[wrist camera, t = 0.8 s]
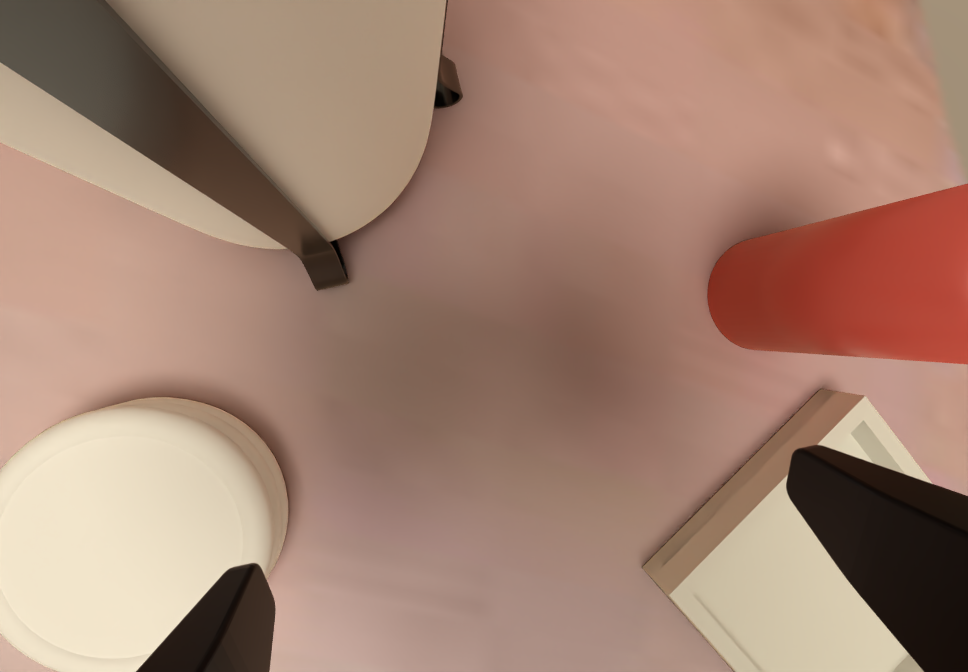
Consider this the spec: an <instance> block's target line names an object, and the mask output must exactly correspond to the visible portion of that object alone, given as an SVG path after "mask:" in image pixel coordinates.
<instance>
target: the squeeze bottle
mask: <svg viewBox="0 0 968 672" xmlns="http://www.w3.org/2000/svg"><path fill="white" fill-rule="evenodd" d="M708 305H709V309H710V313H711V316H712V318H713V320H714V322H715V324H716V326H717V327H718V329H719V330H720V332H721V333H722V334H723V335H724V336H725V337H726V338H727V339H728V340H730V341H731V342H733V343H734V344H736V345H738V346H740V347H743V348H746V349H752V350H763V351H778V352H793V353H808V354H823V355H838V356H853V357H868V358H883V359H898V360H913V361H928V362H942V363H957V364H968V184H965V185H961V186H957V187H953V188H949V189H945V190H941V191H937V192H933V193H929V194H926V195H922V196H918V197H914V198H910V199H906V200H902V201H898V202H894V203H890V204H887V205H883V206H879V207H875V208H871V209H867V210H863V211H859V212H855V213H851V214H847V215H844V216H840V217H836V218H832V219H828V220H824V221H820V222H816V223H812V224H808V225H805V226H801V227H797V228H793V229H789V230H785V231H781V232H777V233H773V234H769V235H765V236H762V237H758V238H754V239H750V240H746V241H743V242H740V243H738V244H736V245H734V246H733V247H731V248H730V249H728V250H727V251H726V252H725V253H724V254H723V255H722V256H721V257H720V259H719V260H718V261H717V263H716V265H715V267H714V268H713V271H712V273H711V276H710V280H709V285H708Z"/></svg>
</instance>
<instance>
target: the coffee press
mask: <svg viewBox="0 0 968 672" xmlns="http://www.w3.org/2000/svg"><path fill="white" fill-rule="evenodd" d="M447 3H448V0H0V142H1V143H3V144H5V145H7V146H10V147H12V148H14V149H16V150H18V151H21V152H23V153H25V154H27V155H29V156H32V157H34V158H36V159H38V160H41V161H43V162H45V163H47V164H49V165H52V166H54V167H56V168H58V169H61V170H63V171H65V172H67V173H69V174H72V175H74V176H76V177H78V178H81V179H83V180H85V181H87V182H89V183H92V184H94V185H96V186H98V187H101V188H103V189H105V190H107V191H109V192H112V193H114V194H116V195H118V196H121V197H123V198H125V199H127V200H129V201H132V202H134V203H136V204H138V205H141V206H143V207H145V208H147V209H150V210H152V211H154V212H156V213H159V214H161V215H163V216H165V217H168V218H170V219H172V220H174V221H177V222H179V223H181V224H183V225H186V226H188V227H190V228H193V229H195V230H197V231H200V232H202V233H205V234H207V235H210V236H213V237H215V238H218V239H221V240H224V241H228V242H231V243H235V244H239V245H244V246H249V247H255V248H264V249H289V250H290V251H292V252H293V253H294V254H296V255H297V256H298V257H299V258H300V259H301V261H302V263H303V264H304V266H305V268H306V270H307V272H308V274H309V276H310V278H311V281H312V283H313V285H314V287H315V289H316V290H317V291H318V290H323V289H327V288H331V287H336V286H340V285H344V284H348V283H349V280H348V275H347V270H346V267H345V263H344V260H343V257H342V254H341V251H340V248H339V245H338V242H337V239H339V238H341V237H344V236H346V235H348V234H350V233H352V232H354V231H356V230H358V229H360V228H361V227H363V226H365V225H366V224H368V223H369V222H371V221H372V220H374V219H375V218H376V217H377V216H379V215H380V214H381V213H382V212H383V211H385V210H386V209H387V208H388V207H389V206H390V205H391V204H392V203H393V202H394V201H395V200H396V198H397V197H398V196H399V195H400V194H401V192H402V191H403V190H404V188H405V187H406V186H407V184H408V183H409V181H410V180H411V178H412V176H413V174H414V173H415V171H416V169H417V167H418V165H419V163H420V160H421V158H422V155H423V153H424V150H425V147H426V144H427V140H428V136H429V132H430V127H431V121H432V115H433V108H445V107H449V106H452V105H454V104H456V103H458V102H459V101H460V100H461V99H462V97H463V95H462V91H461V87H460V83H459V79H458V75H457V70H456V66H455V63H454V62H452V61H451V60H449V59H448V58H446V57H445V56H443V55H442V47H443V38H444V29H445V20H446V12H447Z"/></svg>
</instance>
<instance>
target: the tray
mask: <svg viewBox="0 0 968 672" xmlns="http://www.w3.org/2000/svg"><path fill="white" fill-rule="evenodd" d="M812 445H822V446H825V447H828V448H831V449H834V450H837V451H840V452H843V453H845V454H848V455H851V456H854V457H857V458H860V459H863V460H866V461H868V462H871V463H874V464H877V465H880V466H883V467H886V468H888V469H891V470H894V471H897V472H900V473H903V474H906V475H908V476H911V477H914V478H917V479H920V480H923V481H926V482H928V483H931V481H930V480H929V479H928V477H927V476H926V475H925V473H924V472H923V471H922V470H921V468H920V467H919V466H918V464H917V463H916V462H915V460H914V459H913V458H912V456H911V455H910V454H909V452H908V451H907V450H906V449H905V447H904V446H903V445H902V443H901V442H900V441H899V439H898V438H897V437H896V435H895V434H894V433H893V431H892V430H891V429H890V428H889V426H888V425H887V424H886V422H885V421H884V420H883V418H882V417H881V416H880V414H879V413H878V412H877V411H876V409H875V408H874V407H873V405H872V404H871V403H870V401H869V400H868V399H867V397H866V396H863V395H857V394H850V393H844V392H837V391H830V390H824V389H820V390H819V391H818V392H817V393H816V394H815V395H814V396H813V397H812V398H811V399H810V400H809V401H808V402H807V403H806V404H805V405H804V406H803V407H802V408H801V409H800V410H799V411H798V412H797V413H796V414H795V415H794V416H793V417H792V418H791V419H790V420H789V421H788V422H787V423H786V424H785V425H784V426H783V427H782V428H781V429H780V430H779V431H778V432H777V433H776V434H775V435H774V436H773V437H772V438H771V439H770V440H769V441H768V442H767V443H766V444H765V445H764V446H763V447H762V448H761V449H760V450H759V451H758V452H757V453H756V454H755V455H754V456H753V457H752V458H751V459H750V460H749V461H748V462H747V463H746V464H745V465H744V466H743V467H742V468H741V469H740V470H739V471H738V472H737V473H736V474H735V475H734V476H733V477H732V478H731V479H730V480H729V481H728V482H727V483H726V484H725V485H724V486H723V487H722V488H721V489H720V490H719V491H718V492H717V493H716V494H715V495H714V496H713V497H712V498H711V499H710V500H709V501H708V502H707V503H706V504H705V505H704V506H703V507H702V508H701V509H700V510H699V511H698V512H697V513H696V514H695V515H694V516H693V517H692V518H691V519H690V520H689V521H688V522H687V523H686V524H685V525H684V526H683V527H682V528H681V529H680V530H679V531H678V532H677V533H676V534H675V535H674V536H673V537H672V538H671V539H670V540H669V541H668V542H667V543H666V544H665V545H664V546H663V547H662V548H661V549H660V550H659V551H658V552H657V553H656V554H655V555H654V556H653V557H652V558H651V559H650V560H649V561H648V562H647V563H646V564H645V565H644V566H643V567H642V568H643V569H644V570H645V572H646V573H647V574H648V575H649V576H650V577H651V578H652V579H653V581H654V582H655V583H656V584H657V585H658V586H659V587H660V589H661V590H662V591H663V592H664V593H665V594H666V595H667V596H668V598H669V599H670V600H671V601H672V602H673V603H674V604H675V606H676V607H677V608H678V609H679V610H680V611H681V612H682V613H683V615H684V616H685V617H686V618H687V619H688V620H689V621H690V623H691V624H692V625H693V626H694V627H695V628H696V629H697V630H698V632H699V633H700V634H701V635H702V636H703V637H704V638H705V640H706V641H707V642H708V643H709V644H710V645H711V646H712V647H713V649H714V650H715V651H716V652H717V653H718V654H719V655H720V656H721V658H722V659H723V660H724V661H725V662H726V663H727V664H728V666H729V667H730V668H731V669H732V670H733V671H734V672H924V671H923V670H922V669H921V668H920V667H919V665H918V664H917V663H916V662H915V661H914V659H913V658H912V657H911V656H910V655H909V654H908V652H907V651H906V650H905V649H904V648H903V646H902V645H901V644H900V643H899V642H898V640H897V639H896V638H895V637H894V636H893V634H892V633H891V632H890V631H889V630H888V629H887V627H886V626H885V625H884V624H883V623H882V621H881V620H880V619H879V618H878V617H877V615H876V614H875V613H874V612H873V611H872V609H871V608H870V607H869V606H868V605H867V604H866V602H865V601H864V600H863V599H862V598H861V596H860V595H859V594H858V593H857V591H856V590H855V589H854V588H853V587H852V585H851V584H850V583H849V582H848V580H847V579H846V578H845V576H844V575H843V573H842V572H841V571H840V569H839V568H838V567H837V565H836V564H835V562H834V561H833V560H832V558H831V557H830V555H829V554H828V553H827V551H826V550H825V548H824V547H823V545H822V544H821V543H820V541H819V540H818V538H817V537H816V536H815V534H814V533H813V531H812V530H811V528H810V527H809V526H808V524H807V523H806V521H805V520H804V519H803V517H802V516H801V514H800V513H799V511H798V510H797V509H796V507H795V506H794V504H793V503H792V502H791V500H790V498H789V496H788V494H787V490H786V482H787V477H788V472H789V466H790V461H791V456H792V453H793V452H794V451H795V450H796V449H798V448H802V447H807V446H812ZM931 484H932V483H931Z"/></svg>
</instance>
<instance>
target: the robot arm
mask: <svg viewBox="0 0 968 672" xmlns="http://www.w3.org/2000/svg"><path fill="white" fill-rule="evenodd" d="M786 490H787V494H788V496H789V498H790V500H791V502H792V503H793V504H794V506H795V507H796V509H797V510H798V511H799V513H800V514H801V516H802V517H803V519H804V520H805V521H806V523H807V524H808V526H809V527H810V528H811V530H812V531H813V533H814V534H815V536H816V537H817V538H818V540H819V541H820V543H821V544H822V545H823V547H824V548H825V550H826V551H827V553H828V554H829V555H830V557H831V558H832V560H833V561H834V562H835V564H836V565H837V567H838V568H839V569H840V571H841V572H842V573H843V575H844V576H845V578H846V579H847V580H848V582H849V583H850V584H851V585H852V587H853V588H854V589H855V590H856V591H857V593H858V594H859V595H860V596H861V598H862V599H863V600H864V601H865V602H866V604H867V605H868V606H869V607H870V608H871V609H872V611H873V612H874V613H875V614H876V615H877V617H878V618H879V619H880V620H881V621H882V623H883V624H884V625H885V626H886V627H887V629H888V630H889V631H890V632H891V633H892V634H893V636H894V637H895V638H896V639H897V640H898V642H899V643H900V644H901V645H902V646H903V648H904V649H905V650H906V651H907V652H908V654H909V655H910V656H911V657H912V658H913V659H914V661H915V662H916V663H917V664H918V665H919V667H920V668H921V669H922V670H923V671H924V672H968V496H966V495H963V494H960V493H957V492H954V491H951V490H949V489H946V488H943V487H940V486H937V485H934V484H931V483H928V482H926V481H923V480H920V479H917V478H914V477H911V476H908V475H906V474H903V473H900V472H897V471H894V470H891V469H888V468H886V467H883V466H880V465H877V464H874V463H871V462H868V461H866V460H863V459H860V458H857V457H854V456H851V455H848V454H845V453H843V452H840V451H837V450H834V449H831V448H828V447H825V446H822V445H812V446H807V447H802V448H798V449H796V450H795V451H794V452H793V453H792V456H791V461H790V466H789V472H788V477H787V482H786ZM274 622H275V601H274V598H273V595H272V592H271V590H270V588H269V585H268V583H267V580H266V578H265V575H264V573H263V570H262V568H261V567H260V565H259V564H257V563H249V564H245V565H240V566H235V567H232V568H229V569H228V570H227V571H226V572H224V573H223V575H222V576H221V577H220V578H219V579H218V580H217V581H216V582H215V584H214V585H213V586H212V587H211V588H210V589H209V590H208V591H207V592H206V594H205V595H204V596H203V597H202V598H201V599H200V600H199V601H198V603H197V604H196V605H195V606H194V607H193V608H192V609H191V610H190V611H189V613H188V614H187V615H186V616H185V617H184V618H183V619H182V620H181V622H180V623H179V624H178V625H177V626H176V627H175V628H174V629H173V630H172V632H171V633H170V634H169V635H168V636H167V637H166V638H165V639H164V641H163V642H162V643H161V644H160V645H159V646H158V647H157V648H156V650H155V651H154V652H153V653H152V654H151V655H150V656H149V657H148V658H147V660H146V661H145V662H144V663H143V664H142V665H141V666H140V667H139V669H138V670H137V671H136V672H269V670H270V661H271V651H272V641H273V632H274Z"/></svg>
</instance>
